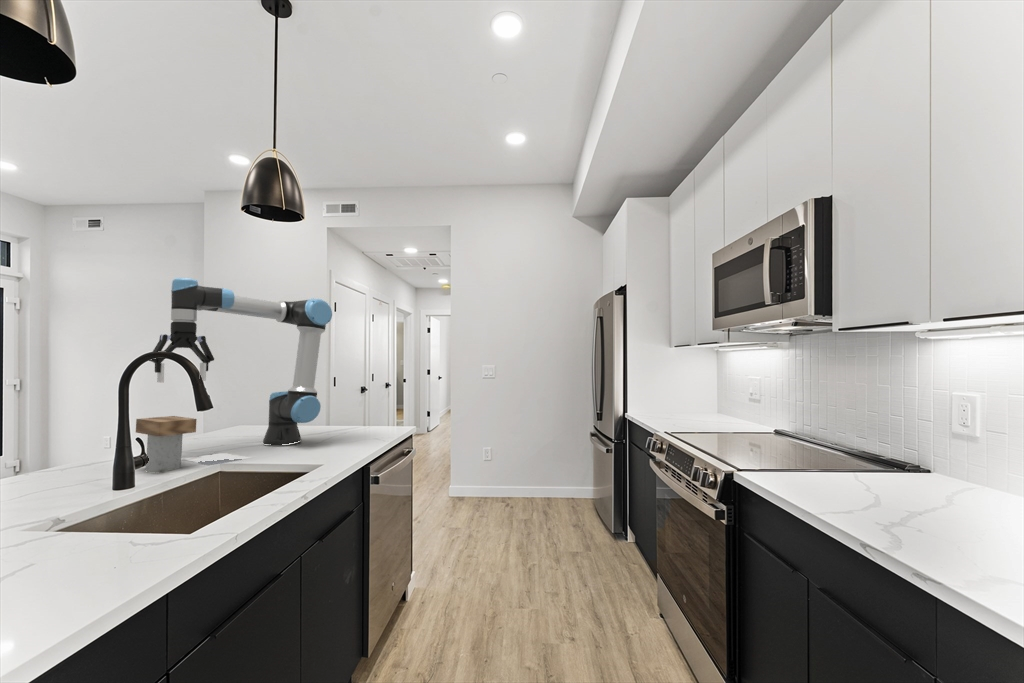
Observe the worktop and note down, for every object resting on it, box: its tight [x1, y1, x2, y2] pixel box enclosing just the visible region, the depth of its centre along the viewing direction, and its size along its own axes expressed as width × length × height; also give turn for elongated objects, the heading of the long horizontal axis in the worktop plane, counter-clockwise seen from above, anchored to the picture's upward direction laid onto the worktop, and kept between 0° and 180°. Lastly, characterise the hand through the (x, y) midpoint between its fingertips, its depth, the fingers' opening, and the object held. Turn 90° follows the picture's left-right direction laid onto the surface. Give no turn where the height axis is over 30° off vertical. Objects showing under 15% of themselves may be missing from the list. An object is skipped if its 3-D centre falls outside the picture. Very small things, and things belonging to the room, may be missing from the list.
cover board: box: [135, 415, 197, 436], centre depth 154 cm, size 11×15×4 cm
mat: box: [197, 459, 242, 466], centre depth 170 cm, size 16×20×1 cm
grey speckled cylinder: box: [145, 434, 184, 474], centre depth 154 cm, size 10×10×12 cm
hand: (182, 381), depth 163 cm, fingers open, 13 cm apart
